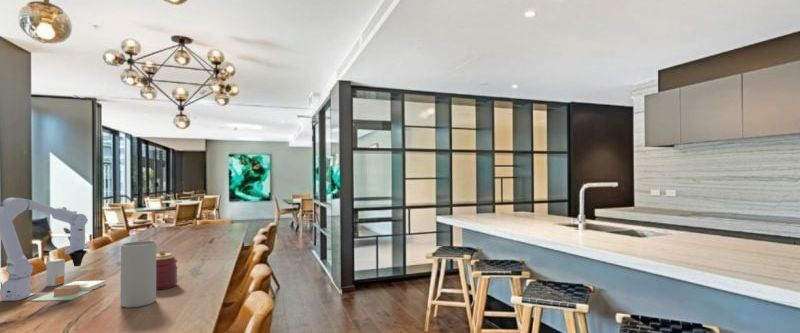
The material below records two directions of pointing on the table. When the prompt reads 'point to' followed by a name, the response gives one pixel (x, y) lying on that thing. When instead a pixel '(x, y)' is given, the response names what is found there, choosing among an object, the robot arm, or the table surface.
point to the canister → (165, 270)
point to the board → (88, 285)
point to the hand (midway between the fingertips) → (77, 266)
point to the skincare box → (55, 272)
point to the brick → (66, 290)
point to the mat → (56, 298)
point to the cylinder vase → (138, 273)
